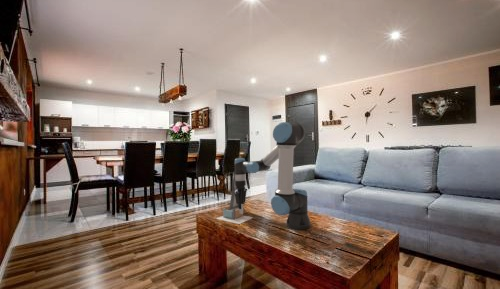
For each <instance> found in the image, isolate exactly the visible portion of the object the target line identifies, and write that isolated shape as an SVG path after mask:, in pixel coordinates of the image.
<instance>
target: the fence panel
mask: <svg viewBox="0 0 500 289" xmlns="http://www.w3.org/2000/svg"><path fill="white" fill-rule="evenodd" d="M242 215H244V213H243V214H241V213H239V209H238V210H235V218H237V217H239V216H242Z"/></svg>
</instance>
